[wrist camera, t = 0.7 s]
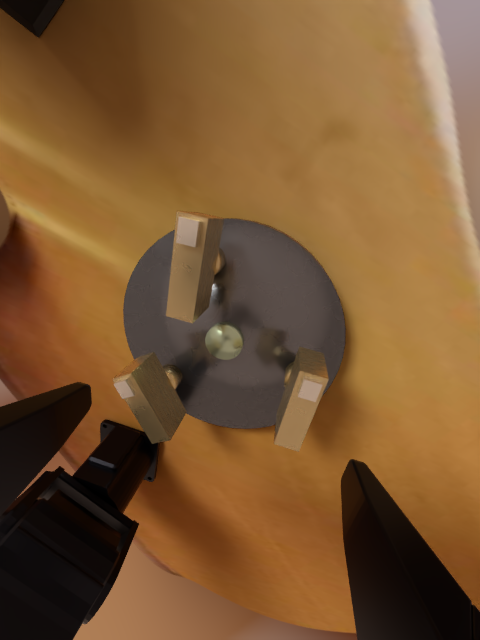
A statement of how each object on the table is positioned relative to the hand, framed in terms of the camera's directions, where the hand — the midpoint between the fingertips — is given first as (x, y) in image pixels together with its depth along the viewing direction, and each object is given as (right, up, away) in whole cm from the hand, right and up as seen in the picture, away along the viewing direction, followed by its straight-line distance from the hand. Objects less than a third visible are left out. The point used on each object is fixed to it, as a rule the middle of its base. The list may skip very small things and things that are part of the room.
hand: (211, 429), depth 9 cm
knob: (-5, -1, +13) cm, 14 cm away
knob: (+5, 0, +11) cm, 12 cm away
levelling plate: (0, +3, +12) cm, 13 cm away
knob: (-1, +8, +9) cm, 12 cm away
